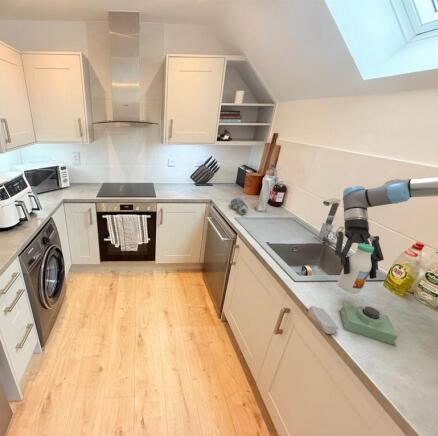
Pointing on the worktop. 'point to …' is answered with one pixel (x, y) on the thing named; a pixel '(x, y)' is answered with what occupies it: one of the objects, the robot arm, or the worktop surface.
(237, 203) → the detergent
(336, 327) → the soap bar
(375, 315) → the black disc
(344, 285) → the milk bottle
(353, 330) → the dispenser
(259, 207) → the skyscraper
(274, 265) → the worktop surface
